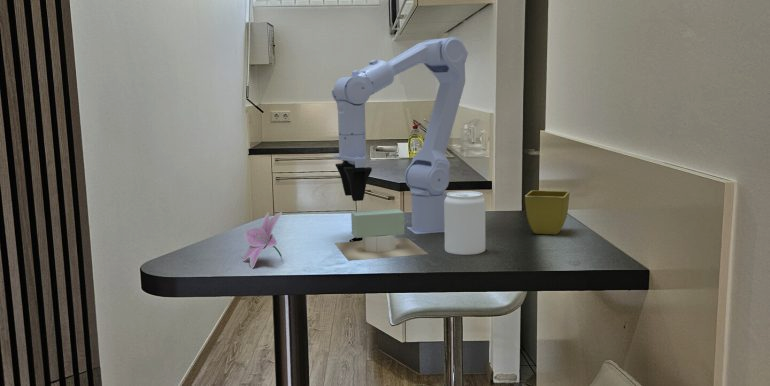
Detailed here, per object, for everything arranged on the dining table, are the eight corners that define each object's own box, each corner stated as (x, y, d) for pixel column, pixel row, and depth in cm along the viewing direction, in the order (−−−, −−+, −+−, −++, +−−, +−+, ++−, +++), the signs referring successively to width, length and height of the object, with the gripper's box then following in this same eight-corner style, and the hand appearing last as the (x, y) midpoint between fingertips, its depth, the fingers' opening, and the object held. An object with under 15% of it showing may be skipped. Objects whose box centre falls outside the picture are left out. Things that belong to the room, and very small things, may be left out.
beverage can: (459, 259, 136) (458, 198, 134) (437, 251, 143) (436, 193, 141) (493, 254, 139) (493, 194, 138) (470, 246, 146) (470, 189, 145)
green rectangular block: (398, 230, 147) (398, 208, 146) (404, 234, 142) (404, 212, 142) (351, 233, 144) (351, 212, 144) (356, 237, 140) (355, 215, 139)
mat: (406, 240, 154) (406, 237, 154) (428, 257, 138) (428, 253, 138) (334, 245, 150) (334, 242, 150) (348, 263, 134) (348, 260, 134)
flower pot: (523, 235, 156) (523, 195, 155) (530, 227, 164) (531, 189, 163) (564, 237, 153) (564, 196, 151) (569, 229, 161) (570, 191, 159)
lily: (249, 258, 145) (227, 222, 140) (301, 234, 145) (280, 198, 140) (250, 291, 135) (226, 253, 130) (306, 266, 134) (283, 227, 130)
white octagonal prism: (390, 243, 148) (390, 229, 147) (398, 250, 142) (398, 235, 141) (360, 246, 146) (360, 231, 146) (367, 252, 140) (367, 238, 140)
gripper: (327, 132, 154) (329, 194, 156) (340, 137, 140) (342, 204, 142) (358, 131, 156) (360, 192, 158) (374, 135, 142) (376, 202, 144)
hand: (354, 197), depth 150 cm, fingers open, 7 cm apart
